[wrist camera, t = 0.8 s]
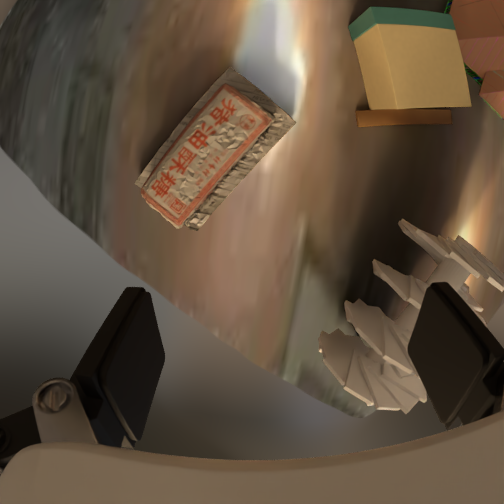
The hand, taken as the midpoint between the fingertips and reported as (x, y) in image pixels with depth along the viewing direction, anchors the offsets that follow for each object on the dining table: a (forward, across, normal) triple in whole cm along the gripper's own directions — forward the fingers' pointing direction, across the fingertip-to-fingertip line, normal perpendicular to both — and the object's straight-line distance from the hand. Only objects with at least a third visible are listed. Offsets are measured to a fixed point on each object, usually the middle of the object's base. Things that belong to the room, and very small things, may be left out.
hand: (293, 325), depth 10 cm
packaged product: (+28, +6, -2) cm, 29 cm away
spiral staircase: (+28, -18, +17) cm, 37 cm away
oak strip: (+28, -18, -8) cm, 34 cm away
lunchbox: (+28, -16, -14) cm, 36 cm away
